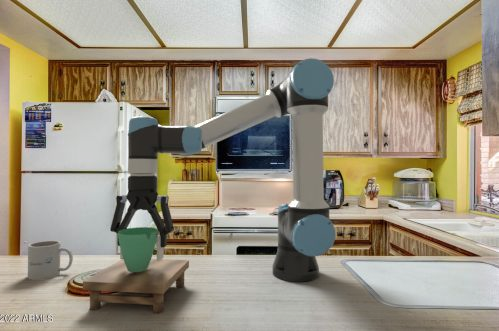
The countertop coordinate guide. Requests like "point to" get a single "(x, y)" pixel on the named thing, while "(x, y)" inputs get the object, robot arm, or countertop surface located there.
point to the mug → (46, 259)
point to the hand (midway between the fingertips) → (142, 258)
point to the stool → (136, 283)
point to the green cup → (137, 247)
